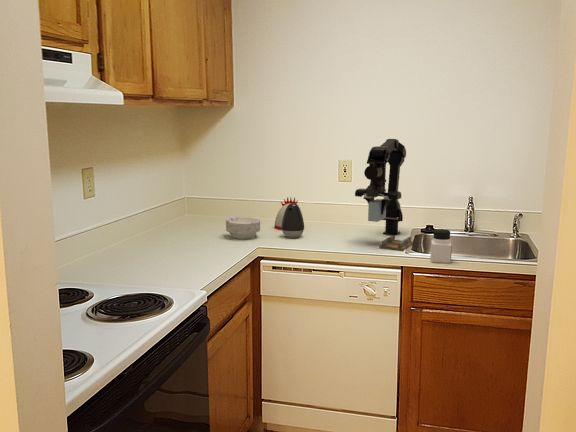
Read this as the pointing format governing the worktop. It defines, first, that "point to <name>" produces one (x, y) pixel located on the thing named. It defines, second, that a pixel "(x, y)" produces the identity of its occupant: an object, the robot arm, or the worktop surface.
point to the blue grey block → (375, 211)
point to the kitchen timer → (282, 213)
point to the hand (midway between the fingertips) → (377, 214)
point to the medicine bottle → (441, 246)
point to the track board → (396, 243)
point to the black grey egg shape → (292, 221)
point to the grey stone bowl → (243, 227)
